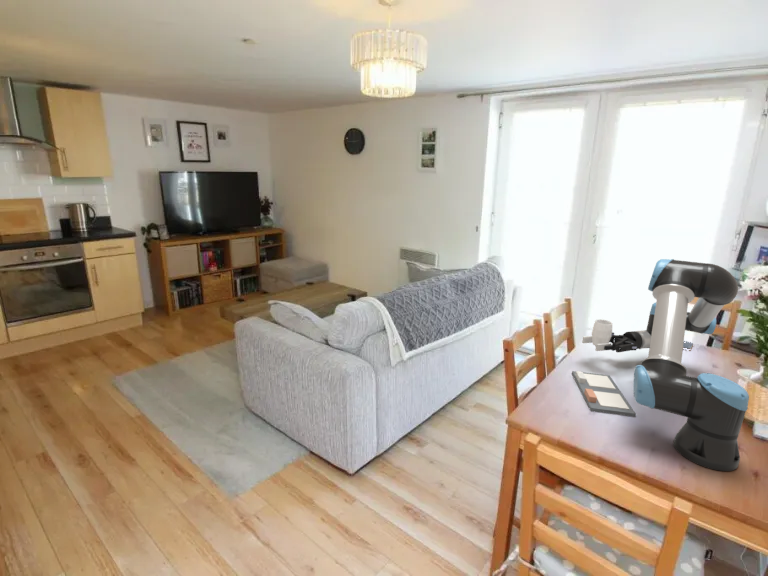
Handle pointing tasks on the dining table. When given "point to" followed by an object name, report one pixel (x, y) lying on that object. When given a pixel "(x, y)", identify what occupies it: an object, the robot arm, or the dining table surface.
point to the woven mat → (687, 345)
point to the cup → (601, 332)
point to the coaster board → (602, 394)
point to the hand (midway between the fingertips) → (589, 343)
